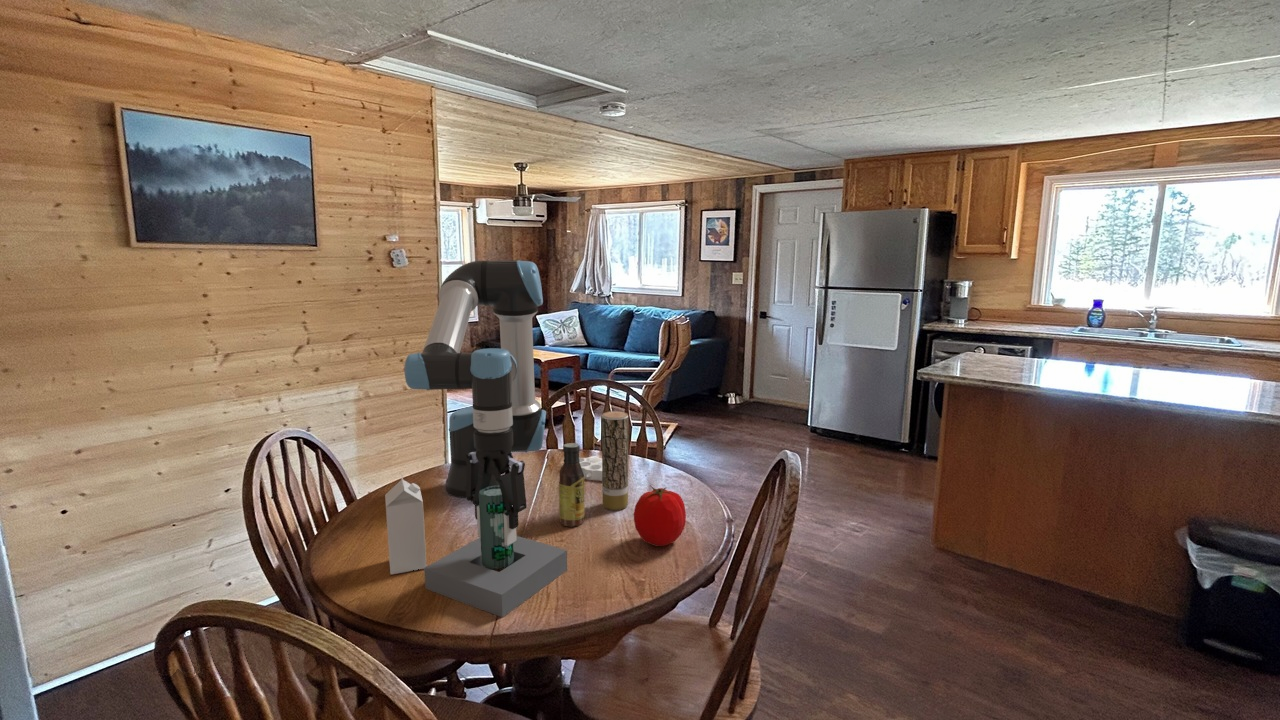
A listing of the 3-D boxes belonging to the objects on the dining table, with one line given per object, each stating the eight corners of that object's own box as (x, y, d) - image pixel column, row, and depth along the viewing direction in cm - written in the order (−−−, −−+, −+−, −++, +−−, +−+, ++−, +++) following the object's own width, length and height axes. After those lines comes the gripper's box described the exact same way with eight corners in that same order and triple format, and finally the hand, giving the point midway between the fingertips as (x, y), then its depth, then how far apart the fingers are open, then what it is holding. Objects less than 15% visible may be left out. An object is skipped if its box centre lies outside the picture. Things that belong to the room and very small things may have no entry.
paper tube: (613, 513, 158) (613, 419, 154) (597, 505, 163) (596, 414, 159) (633, 506, 163) (633, 415, 158) (617, 499, 168) (617, 410, 164)
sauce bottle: (580, 529, 149) (579, 450, 146) (555, 526, 150) (554, 448, 147) (587, 518, 155) (587, 442, 152) (564, 515, 156) (563, 440, 153)
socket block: (425, 588, 122) (424, 567, 121) (495, 548, 139) (494, 529, 138) (502, 617, 112) (501, 594, 111) (567, 570, 129) (566, 550, 128)
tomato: (693, 550, 138) (694, 494, 136) (641, 557, 135) (641, 500, 133) (676, 529, 149) (676, 477, 147) (627, 535, 146) (627, 482, 144)
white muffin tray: (632, 473, 189) (601, 487, 177) (589, 461, 200) (557, 474, 188) (632, 462, 188) (601, 475, 177) (588, 452, 199) (557, 463, 188)
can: (502, 570, 121) (500, 498, 118) (476, 565, 123) (473, 494, 120) (518, 556, 127) (516, 487, 124) (492, 552, 128) (490, 484, 126)
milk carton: (390, 575, 127) (384, 488, 124) (389, 560, 133) (383, 476, 130) (426, 569, 129) (422, 483, 126) (423, 554, 136) (419, 472, 133)
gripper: (443, 425, 122) (448, 535, 125) (519, 439, 112) (522, 557, 116) (470, 417, 128) (474, 521, 132) (544, 430, 119) (546, 542, 122)
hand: (497, 538), depth 124 cm, fingers closed on can, 6 cm apart
